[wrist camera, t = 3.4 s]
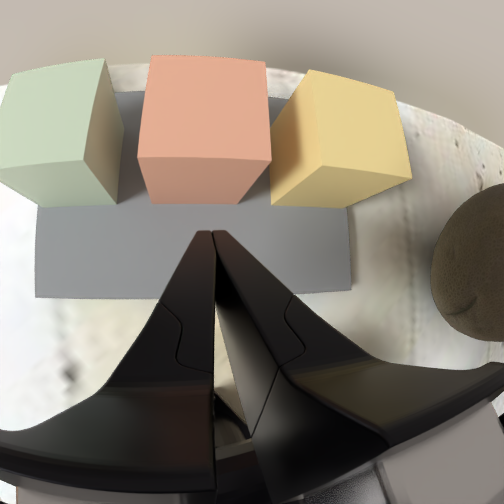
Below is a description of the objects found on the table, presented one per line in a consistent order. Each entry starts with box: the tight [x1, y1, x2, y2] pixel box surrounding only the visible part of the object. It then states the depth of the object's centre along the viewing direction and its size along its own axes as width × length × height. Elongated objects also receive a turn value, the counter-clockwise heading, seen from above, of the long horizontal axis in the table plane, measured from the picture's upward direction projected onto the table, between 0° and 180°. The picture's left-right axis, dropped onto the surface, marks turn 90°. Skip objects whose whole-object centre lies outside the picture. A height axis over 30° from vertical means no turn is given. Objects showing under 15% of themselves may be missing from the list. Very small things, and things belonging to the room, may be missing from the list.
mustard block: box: [269, 70, 412, 209], centre depth 19 cm, size 6×6×8 cm
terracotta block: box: [137, 55, 272, 204], centre depth 17 cm, size 6×6×8 cm
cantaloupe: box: [431, 184, 504, 342], centre depth 21 cm, size 14×14×15 cm
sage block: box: [0, 58, 124, 208], centre depth 15 cm, size 6×6×8 cm
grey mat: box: [35, 91, 351, 299], centre depth 22 cm, size 16×24×1 cm, turn 92°
